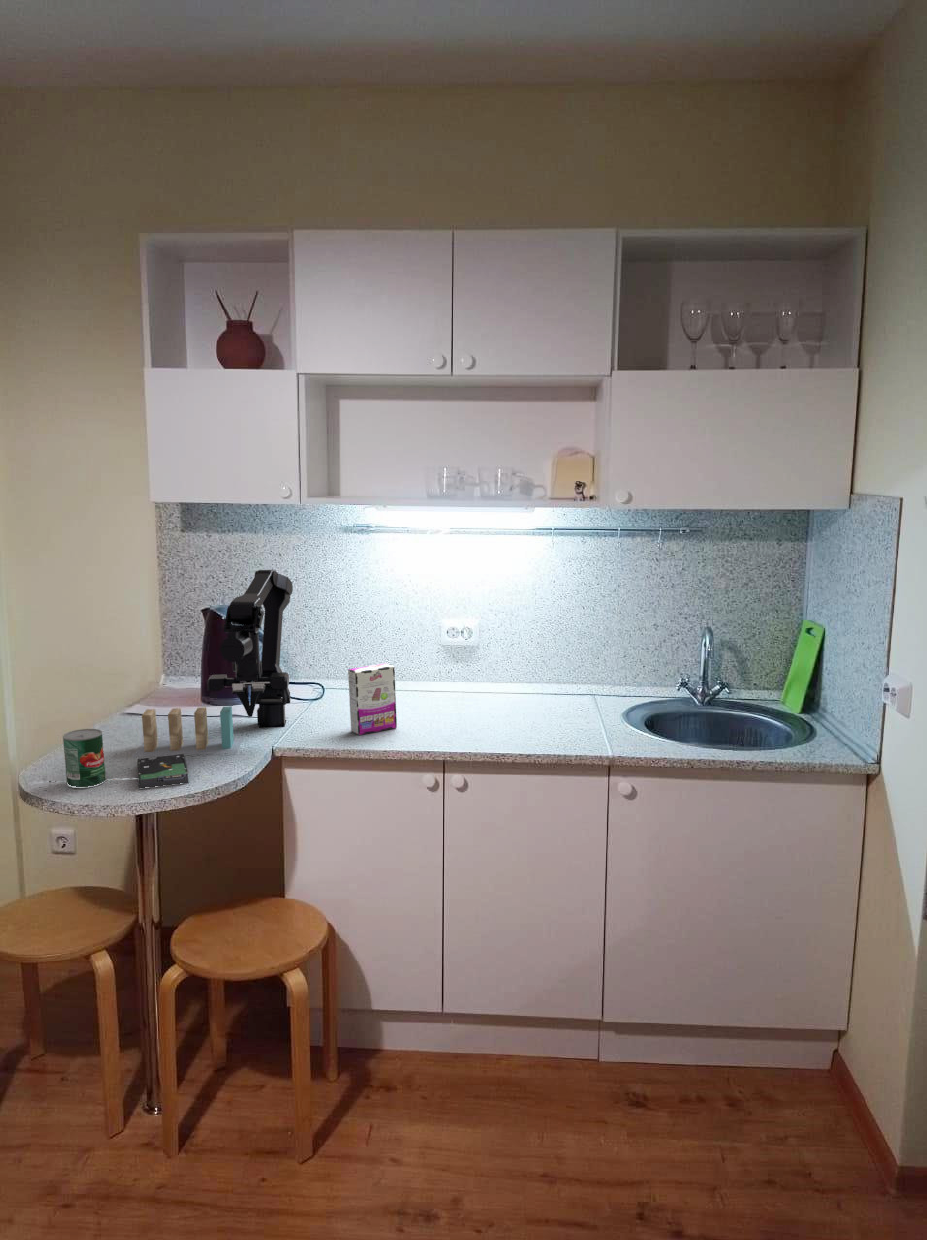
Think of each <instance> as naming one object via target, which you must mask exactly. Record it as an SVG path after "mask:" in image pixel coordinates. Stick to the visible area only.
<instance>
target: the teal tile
mask: <svg viewBox="0 0 927 1240" xmlns="http://www.w3.org/2000/svg"><path fill="white" fill-rule="evenodd" d="M219 716H220V717H219V718H220V733H221V734H220V736H221V737H220V738H222V749H228V748H231V747H232V745H233V743H234V738H235V737H234V725H233V724H234V723H233V707H232V706H229V705H228V706H223V707H222V708H221V710H220V712H219Z"/></svg>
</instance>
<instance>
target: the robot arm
mask: <svg viewBox="0 0 927 1240" xmlns="http://www.w3.org/2000/svg"><path fill="white" fill-rule="evenodd" d="M250 582H251V583H249V585H248V587H247V589H246V590H245V592H244V593H243V594H242V595H240V596H236V597H235V598H233V599H232V601H231V602H230V603H229V604H228V606H227V609H226V614H225V619H224V625H223V626H224V627H223V632H224V633H227V638H226V639H223V641H222V642H221V644H220V647H219V652H220V653H219V654H220V655H221V657H222V658H223V659H224V660H225V661H227V662H230V663H232V671H233V672H234V673H235V677H228V675H227V674H222V673H221V674H212V675H210V677H209V678H208V679H207V681H206V691H207V692H220V691H223V689H224V688H225V687H232V692H231V694H233V695H236V696H237V697H238V699H239V701H240V702H241V704H242V706H243V708H244V710H245V713H246V714H247V717H248V718H251V717H253V715H254V711H255V707H256V705H258V707H257V710H256V716H257V718H256V719H257V726H258V728H259V729H268V728H269V729H270V728H271V729H272V728H273V729H274V728H285V727H286V723H287V719H286V705H288V704H291V691H290V689H289V684H290V674H289V673H288V672H286V671H285V672H284V671H283V670H282V669H281V667H280V661H281V660H280V659H281V646H282V645H281V644H282V632H283V628H282V627H283V618H284V617H283V616H284V615H283V614H284V611H285V609H286V608H287V606H288V605H289V604H290V603H291V595H292V594H293V588H294V587H293V582H292V580H291V579H290V578H289V577H288V576H286V575H283V574H281V573H278V571H277V570H275V569H258V570H256V571H255V572H254V576H253V579H252V581H250ZM262 606H263V607H262ZM263 608H264V609H263ZM262 623H263V632H262V644H261V645H262V649H261V654H260V639H259V638H260V637H259V631H260V628H261V627H262ZM260 655H261V658H260ZM260 659H261V660H260ZM248 686H250V699H249V693H248V691H249V689H248Z"/></svg>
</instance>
